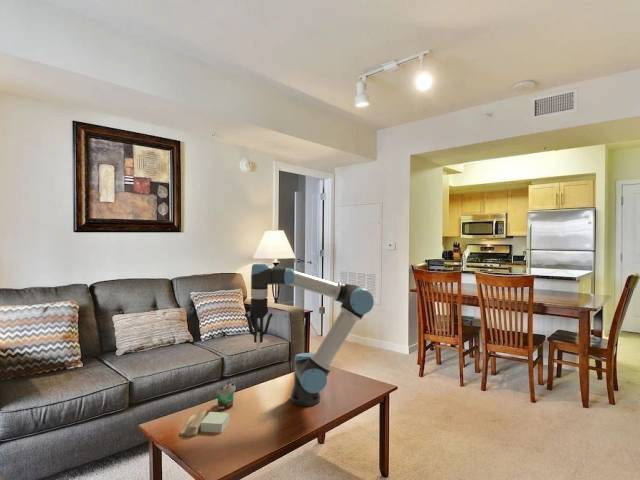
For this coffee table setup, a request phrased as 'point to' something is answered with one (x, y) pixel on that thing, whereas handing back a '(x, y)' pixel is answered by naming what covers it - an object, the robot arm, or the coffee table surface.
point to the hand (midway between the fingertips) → (258, 349)
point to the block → (215, 422)
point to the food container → (226, 396)
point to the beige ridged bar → (194, 424)
